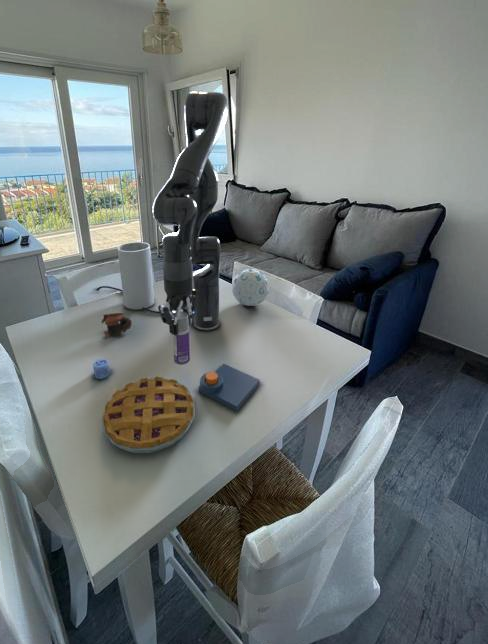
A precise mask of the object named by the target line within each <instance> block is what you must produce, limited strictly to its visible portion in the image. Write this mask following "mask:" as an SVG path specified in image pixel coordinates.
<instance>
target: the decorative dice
mask: <svg viewBox="0 0 488 644" xmlns="http://www.w3.org/2000/svg"><path fill="white" fill-rule="evenodd" d="M92 366H93V374H94V377H95V378H96V379H97V380H103V379H105V378H108V377H109V376H110V365H109V360H107V359H105V358H100V359H97V360H96V361H94V362H93V364H92Z"/></svg>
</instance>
